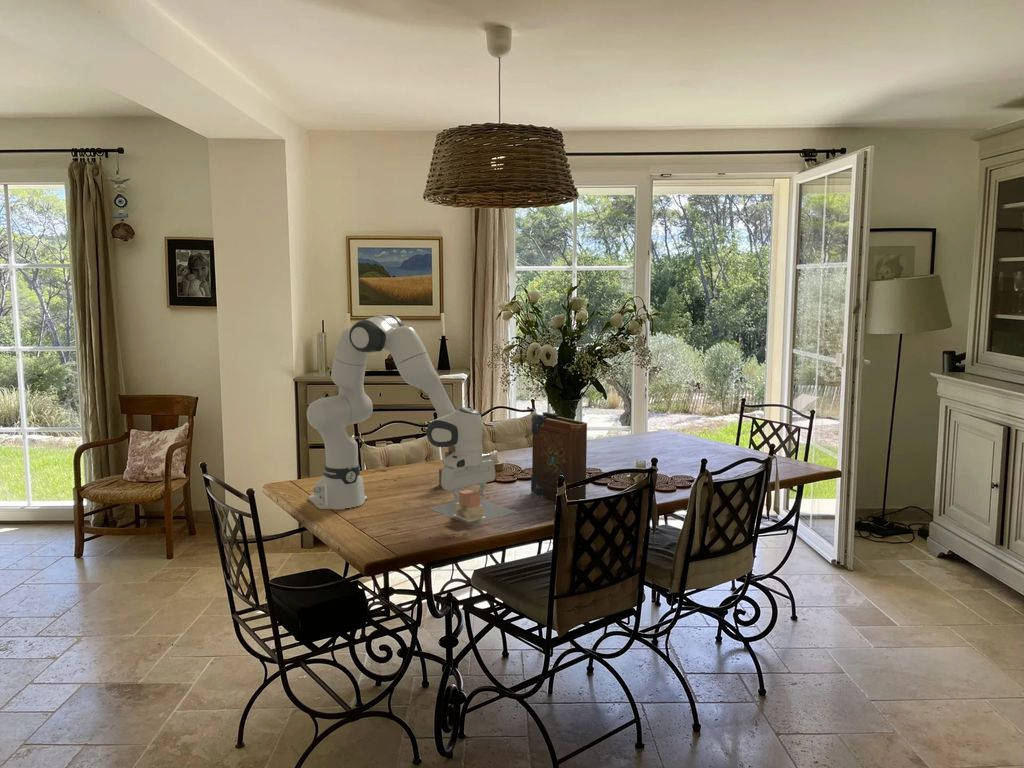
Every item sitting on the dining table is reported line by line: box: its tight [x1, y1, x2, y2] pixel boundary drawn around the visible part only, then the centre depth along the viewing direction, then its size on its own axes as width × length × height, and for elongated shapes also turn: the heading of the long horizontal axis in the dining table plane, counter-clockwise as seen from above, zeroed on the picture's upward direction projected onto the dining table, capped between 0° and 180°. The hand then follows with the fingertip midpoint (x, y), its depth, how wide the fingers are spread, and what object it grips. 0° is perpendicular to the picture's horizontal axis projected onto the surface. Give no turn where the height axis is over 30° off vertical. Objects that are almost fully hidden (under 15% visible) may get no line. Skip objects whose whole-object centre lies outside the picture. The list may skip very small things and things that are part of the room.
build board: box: [428, 498, 517, 525], centre depth 254 cm, size 23×20×2 cm
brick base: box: [456, 503, 483, 521], centre depth 246 cm, size 8×5×4 cm, turn 42°
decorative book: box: [530, 411, 588, 501], centre depth 270 cm, size 23×7×30 cm, turn 39°
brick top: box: [458, 489, 481, 508], centre depth 246 cm, size 6×4×4 cm, turn 42°
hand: (469, 498), depth 246 cm, fingers open, 8 cm apart
